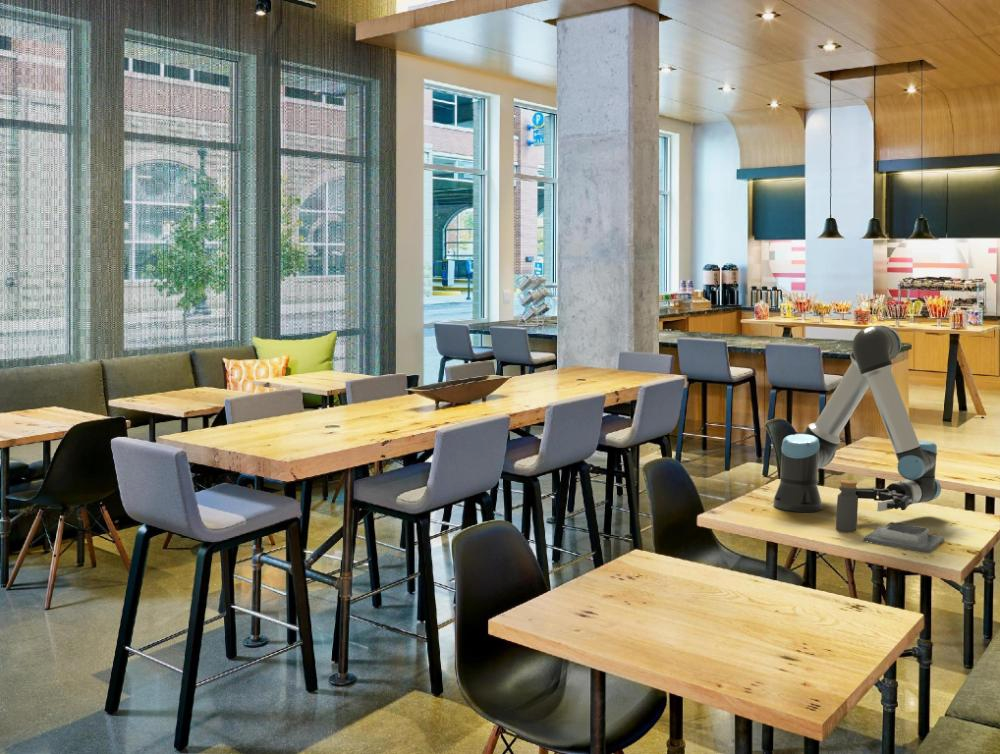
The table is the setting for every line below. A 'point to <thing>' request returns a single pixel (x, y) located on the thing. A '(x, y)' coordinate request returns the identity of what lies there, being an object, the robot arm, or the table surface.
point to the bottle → (847, 507)
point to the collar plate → (904, 537)
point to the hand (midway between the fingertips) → (859, 501)
